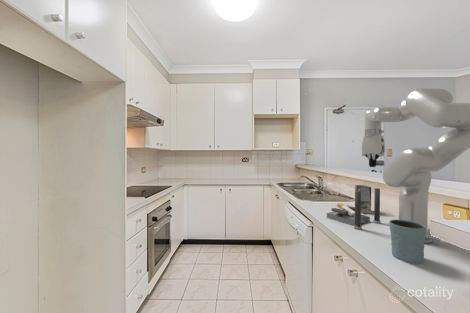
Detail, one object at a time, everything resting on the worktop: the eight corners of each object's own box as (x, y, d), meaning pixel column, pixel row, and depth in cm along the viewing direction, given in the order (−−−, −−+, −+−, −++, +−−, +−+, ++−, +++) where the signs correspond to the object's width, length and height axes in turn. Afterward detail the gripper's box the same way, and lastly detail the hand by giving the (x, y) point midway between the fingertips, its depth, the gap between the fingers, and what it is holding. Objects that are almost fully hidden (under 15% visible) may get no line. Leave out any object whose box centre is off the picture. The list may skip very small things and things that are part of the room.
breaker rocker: (355, 214, 116) (356, 212, 115) (350, 215, 113) (351, 213, 113) (341, 205, 123) (342, 202, 122) (336, 206, 121) (337, 203, 120)
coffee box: (371, 213, 128) (372, 187, 127) (360, 213, 128) (360, 187, 128) (364, 209, 137) (364, 185, 136) (354, 209, 138) (354, 184, 137)
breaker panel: (370, 221, 114) (370, 210, 114) (353, 226, 106) (353, 214, 106) (342, 213, 128) (342, 204, 127) (326, 217, 120) (326, 207, 120)
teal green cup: (414, 267, 68) (415, 230, 68) (382, 253, 77) (382, 221, 77) (432, 260, 72) (432, 225, 72) (399, 248, 82) (399, 217, 81)
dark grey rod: (363, 229, 102) (363, 191, 102) (359, 230, 101) (359, 192, 100) (356, 227, 105) (356, 190, 105) (352, 228, 104) (352, 191, 103)
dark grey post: (381, 223, 111) (382, 188, 110) (378, 224, 109) (378, 189, 109) (375, 221, 113) (375, 188, 113) (372, 222, 112) (372, 188, 112)
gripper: (391, 132, 111) (391, 167, 111) (362, 134, 124) (362, 166, 124) (384, 131, 107) (383, 168, 107) (355, 134, 120) (355, 166, 120)
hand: (372, 166), depth 116 cm, fingers closed
